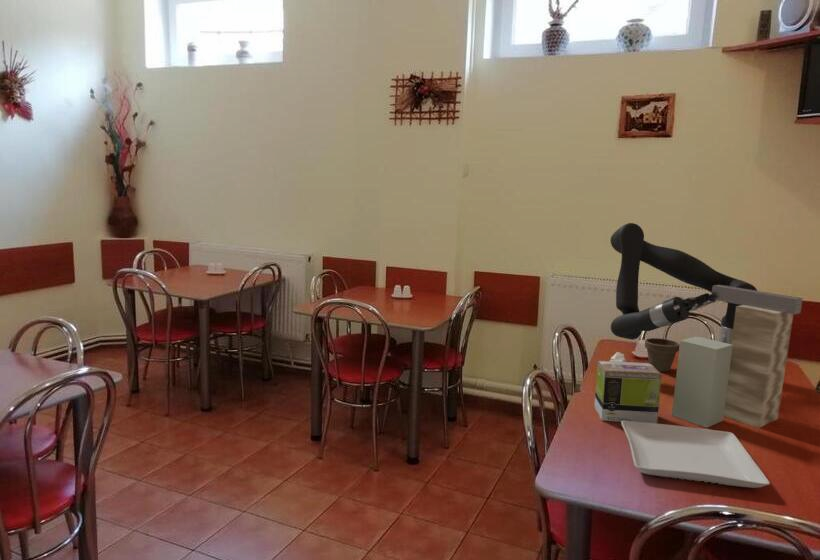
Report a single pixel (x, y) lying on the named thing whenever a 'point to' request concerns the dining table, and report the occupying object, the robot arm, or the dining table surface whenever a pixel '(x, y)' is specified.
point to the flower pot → (661, 352)
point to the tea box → (627, 391)
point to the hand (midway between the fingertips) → (716, 294)
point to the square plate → (692, 454)
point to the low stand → (702, 380)
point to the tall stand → (757, 365)
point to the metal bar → (757, 299)
